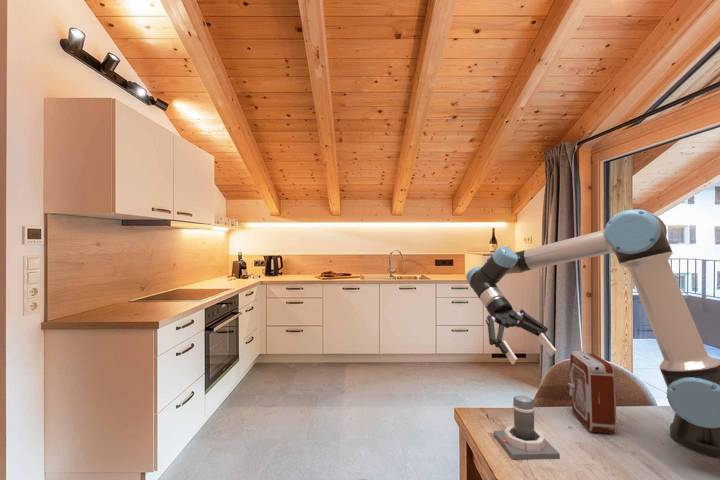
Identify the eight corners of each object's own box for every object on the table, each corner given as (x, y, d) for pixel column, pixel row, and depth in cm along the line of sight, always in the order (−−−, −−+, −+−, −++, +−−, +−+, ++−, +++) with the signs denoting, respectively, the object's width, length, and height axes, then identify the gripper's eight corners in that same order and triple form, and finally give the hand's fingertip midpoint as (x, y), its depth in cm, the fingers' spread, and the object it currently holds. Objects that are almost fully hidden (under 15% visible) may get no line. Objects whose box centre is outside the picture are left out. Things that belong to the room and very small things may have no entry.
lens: (529, 436, 98) (527, 394, 98) (539, 446, 93) (537, 402, 93) (510, 436, 98) (508, 394, 98) (519, 446, 93) (517, 402, 93)
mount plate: (535, 434, 101) (535, 422, 101) (559, 458, 89) (559, 445, 89) (493, 435, 101) (493, 423, 101) (512, 459, 89) (512, 446, 89)
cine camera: (591, 407, 118) (589, 346, 119) (622, 437, 99) (619, 364, 100) (561, 405, 120) (559, 345, 121) (586, 434, 101) (583, 363, 102)
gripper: (523, 305, 127) (563, 356, 111) (460, 316, 121) (494, 372, 105) (531, 291, 122) (574, 342, 106) (466, 302, 116) (502, 358, 100)
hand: (534, 357), depth 106 cm, fingers open, 13 cm apart
